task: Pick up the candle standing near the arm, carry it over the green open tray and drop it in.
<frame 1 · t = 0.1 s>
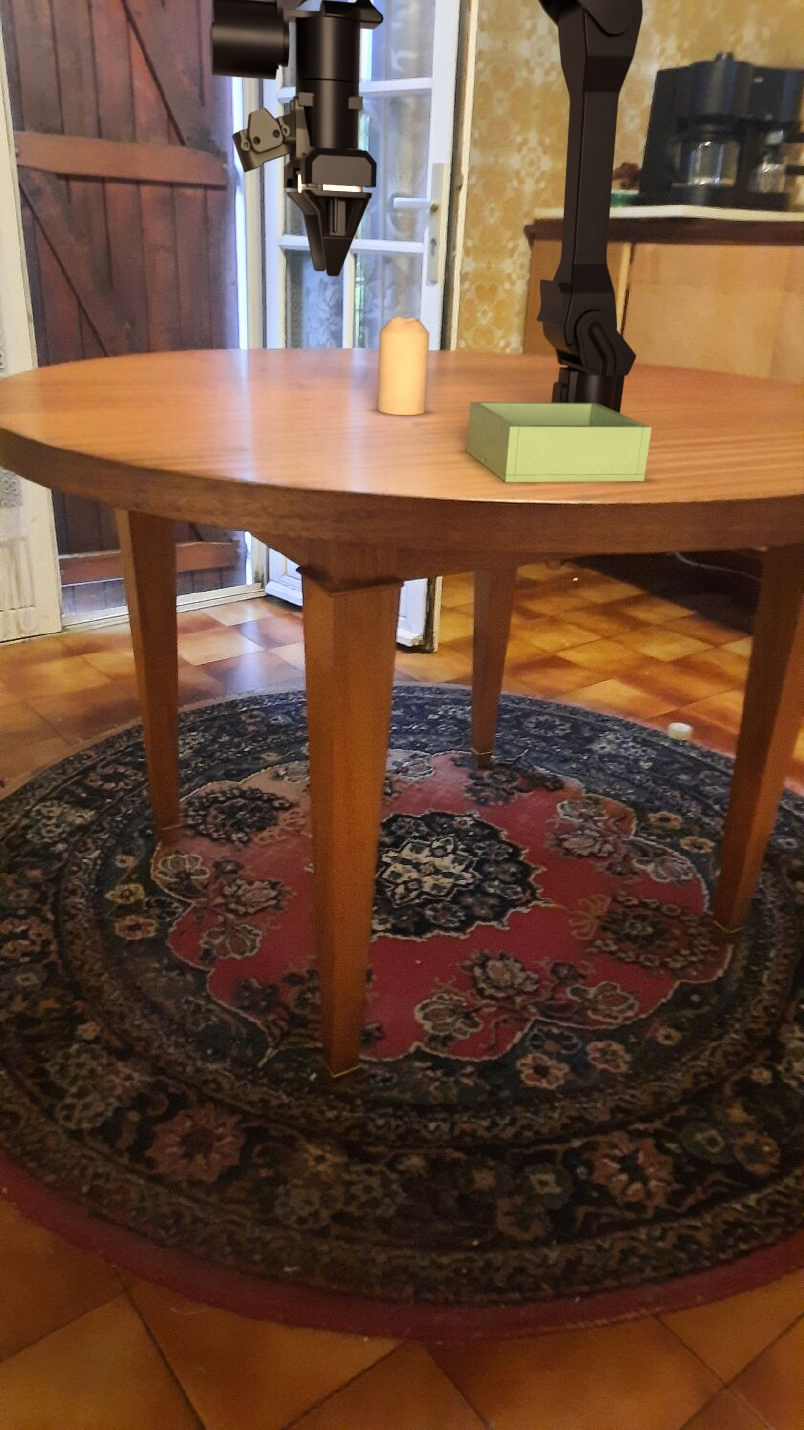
hand: (325, 273, 98), 15 cm above the table, tool pointing down, fingers open, 9 cm apart
green open tray: (551, 465, 93), on the table
candle: (401, 413, 116), on the table
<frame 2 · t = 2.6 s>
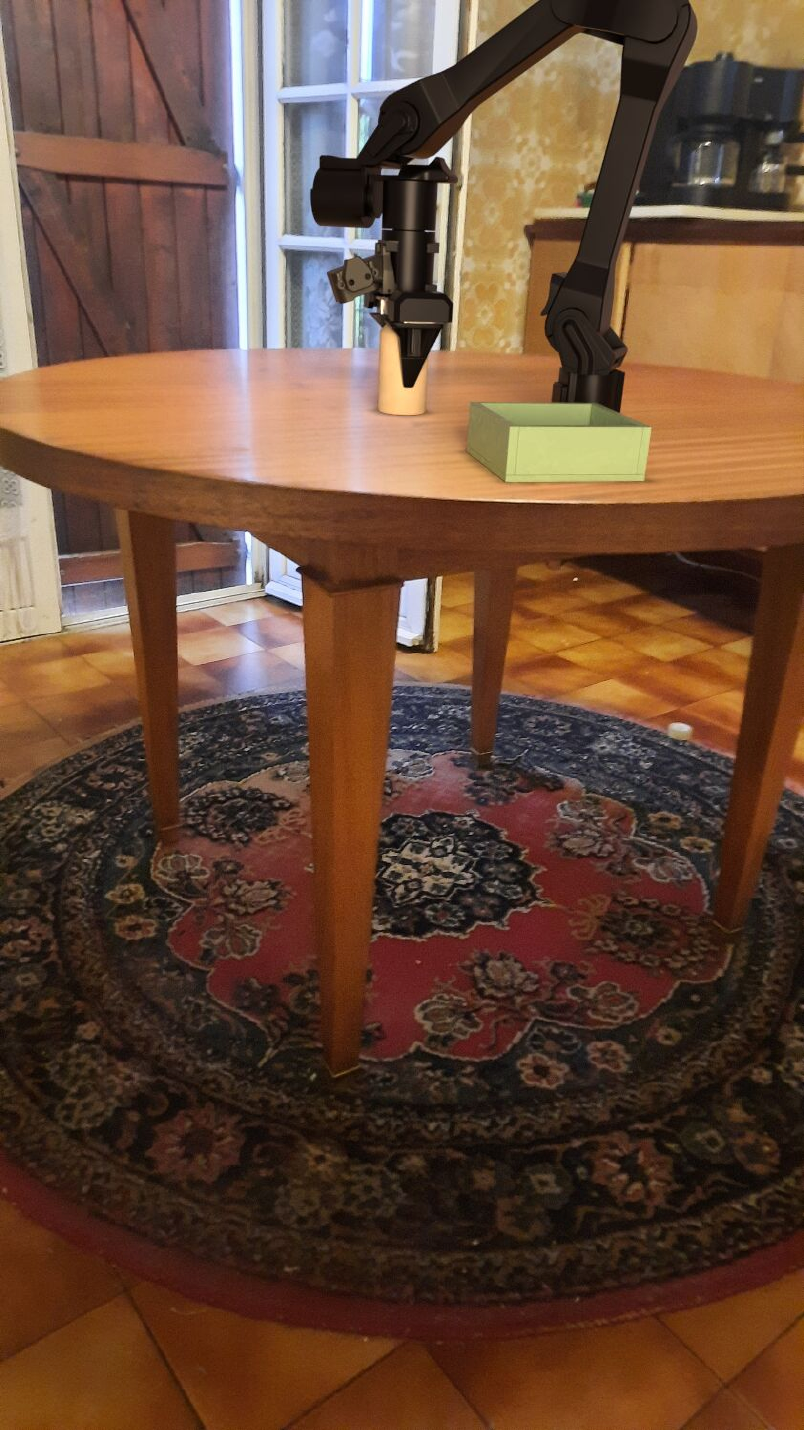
hand: (402, 383, 115), 3 cm above the table, tool pointing down, fingers closed on candle, 5 cm apart
candle: (401, 413, 116), on the table, touching gripper
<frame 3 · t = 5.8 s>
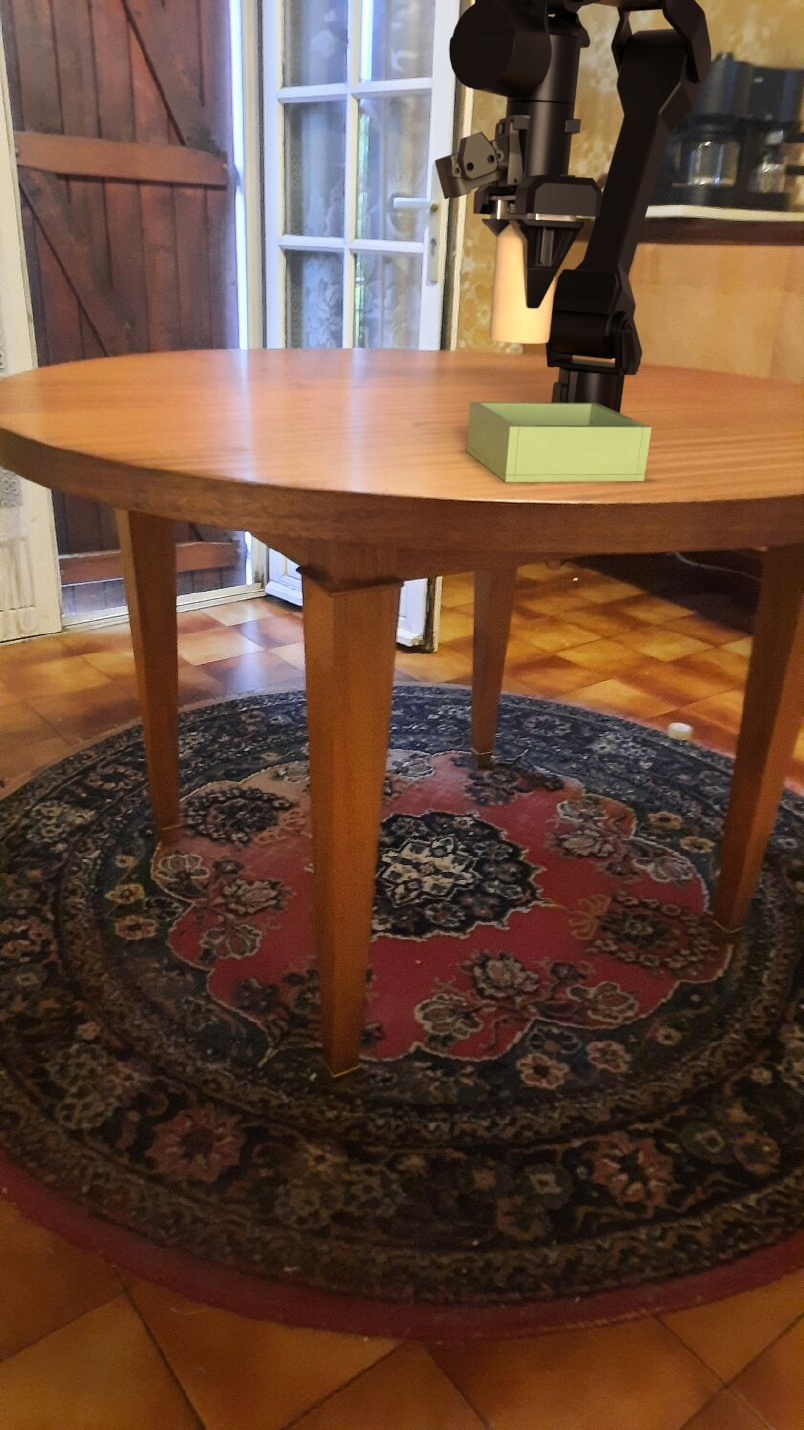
hand: (523, 305, 92), 13 cm above the table, tool pointing down, fingers closed on candle, 5 cm apart
candle: (518, 343, 93), point 10 cm above the table, touching gripper
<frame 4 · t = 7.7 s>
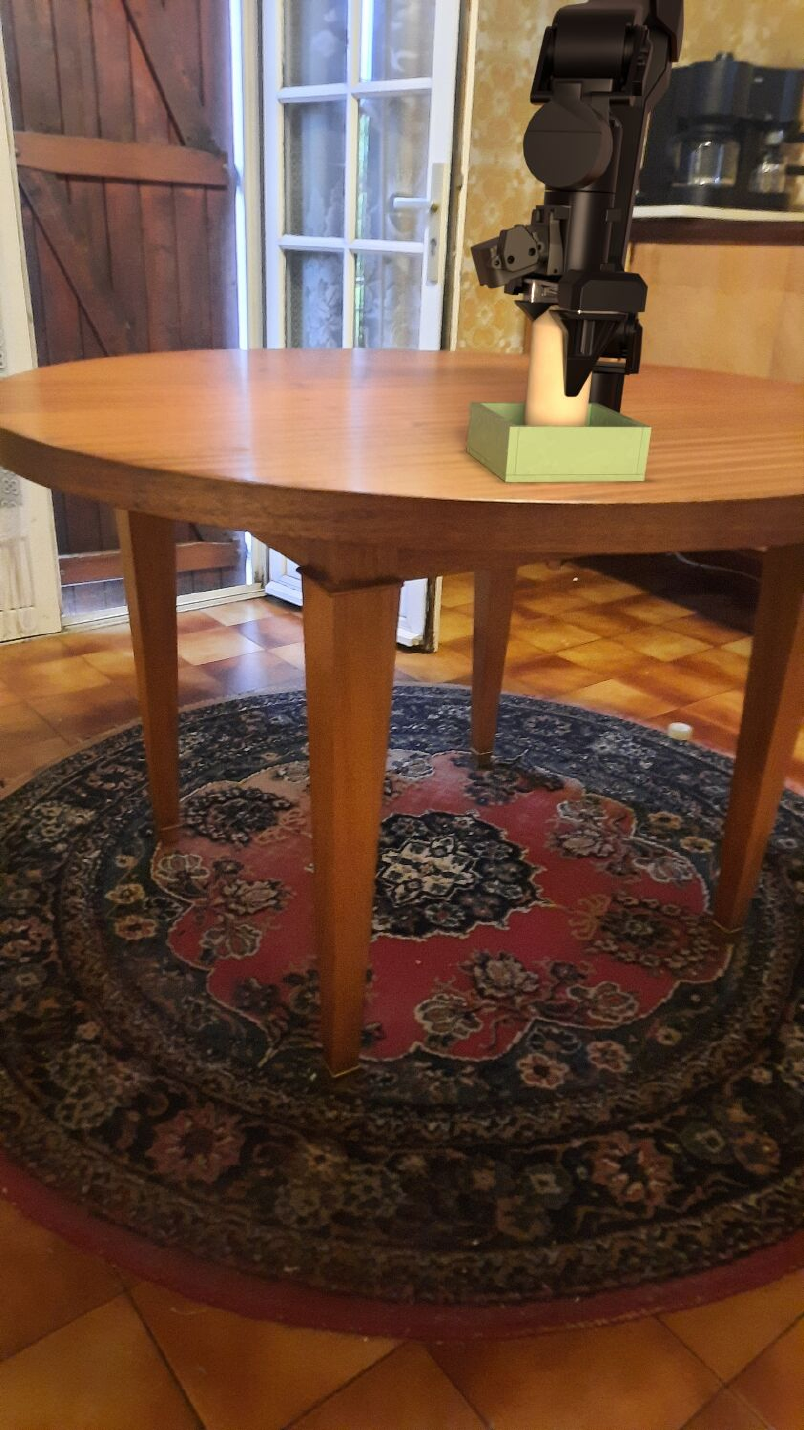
hand: (559, 391, 90), 7 cm above the table, tool pointing down, fingers closed on candle, 5 cm apart
candle: (554, 428, 91), point 3 cm above the table, touching gripper
when the fingers open (4 cm above the table, at t = 9.0 s): candle stays where it is, resting on green open tray.
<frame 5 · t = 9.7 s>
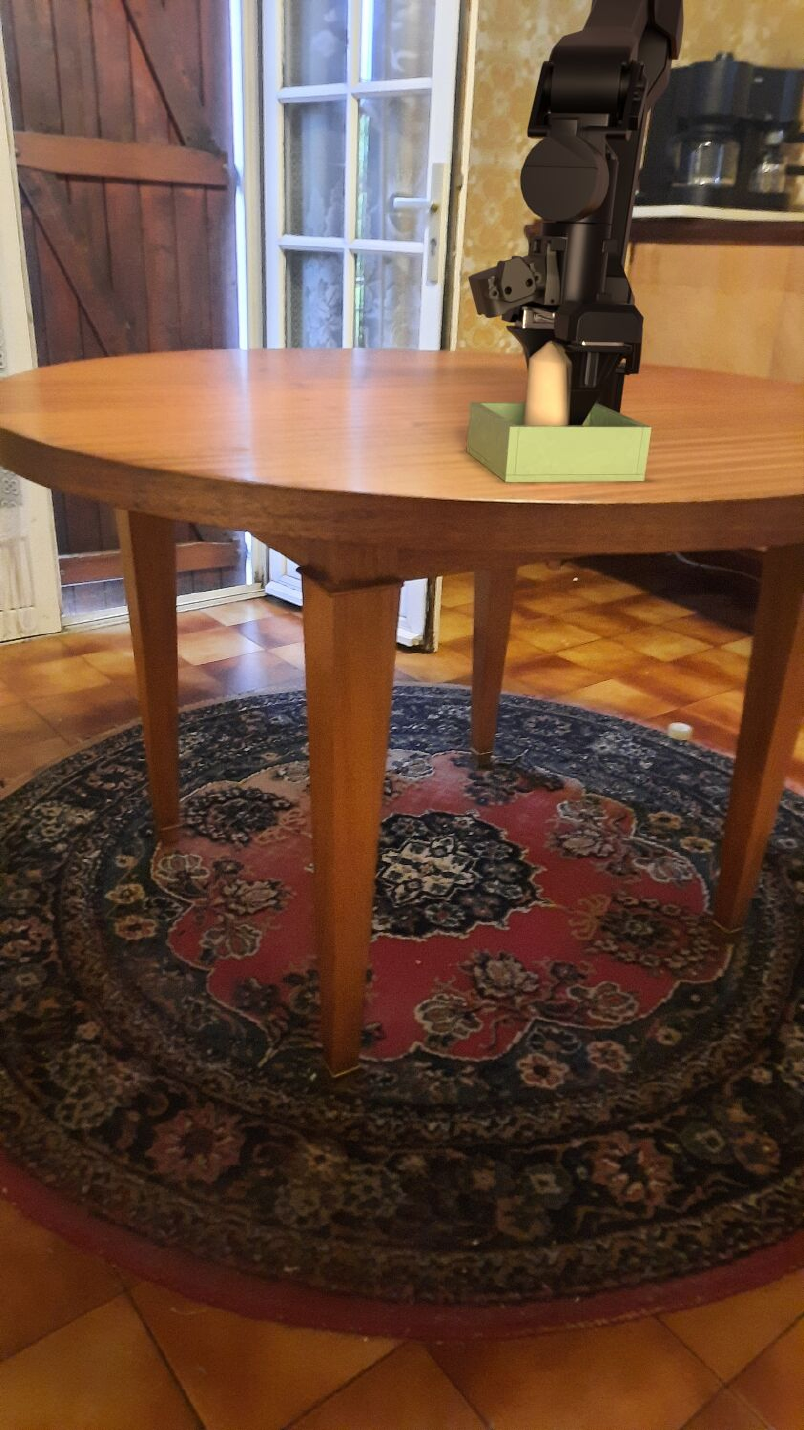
hand: (556, 418, 91), 4 cm above the table, tool pointing down, fingers open, 9 cm apart
candle: (550, 461, 92), resting on green open tray
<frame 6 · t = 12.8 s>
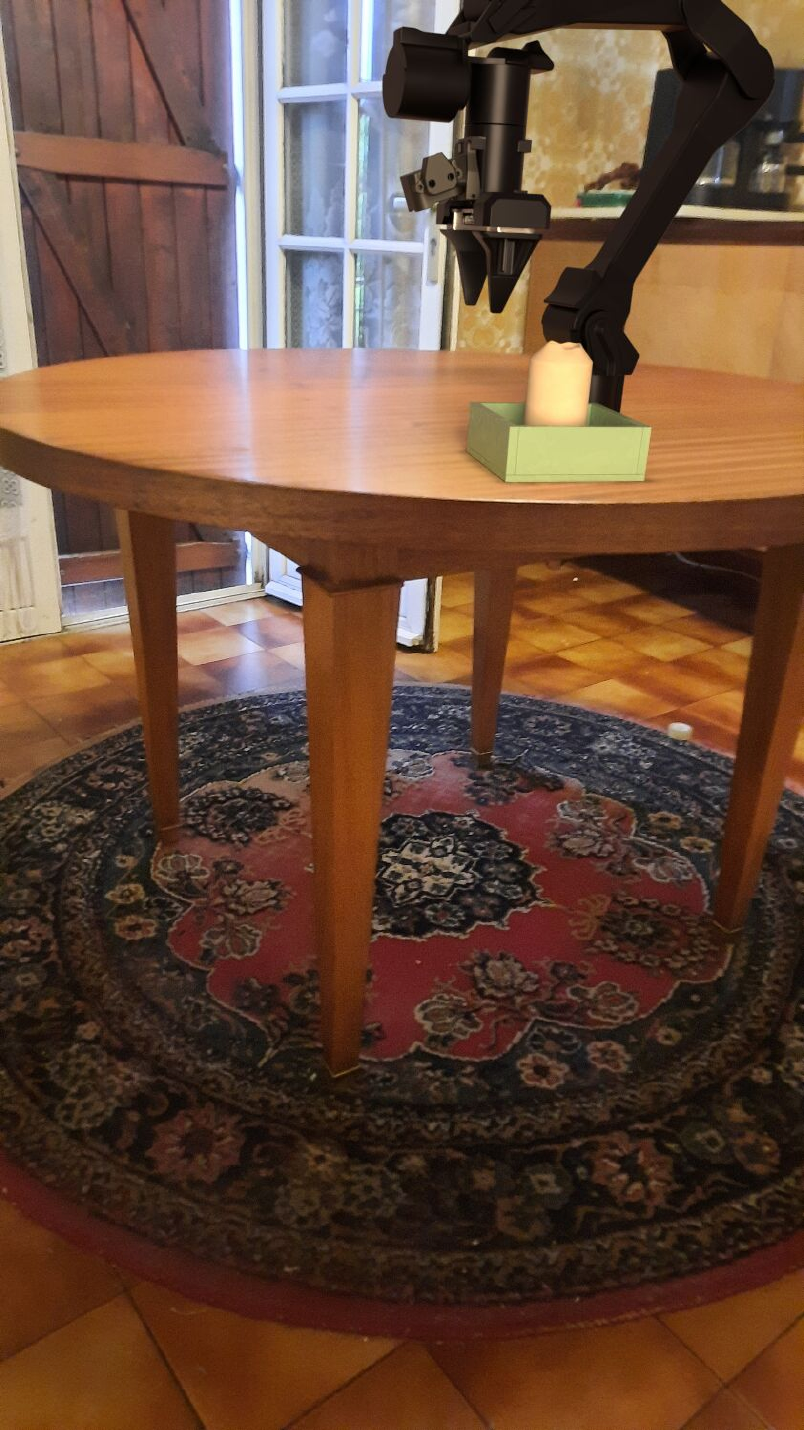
hand: (482, 309, 100), 12 cm above the table, tool pointing down, fingers open, 9 cm apart
nothing on the table moved.
at the end: candle inside the target area in the green open tray (0.1 cm from its centre), point 0.4 cm above the green open tray's base; candle tilted 0°; the gripper is holding nothing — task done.
